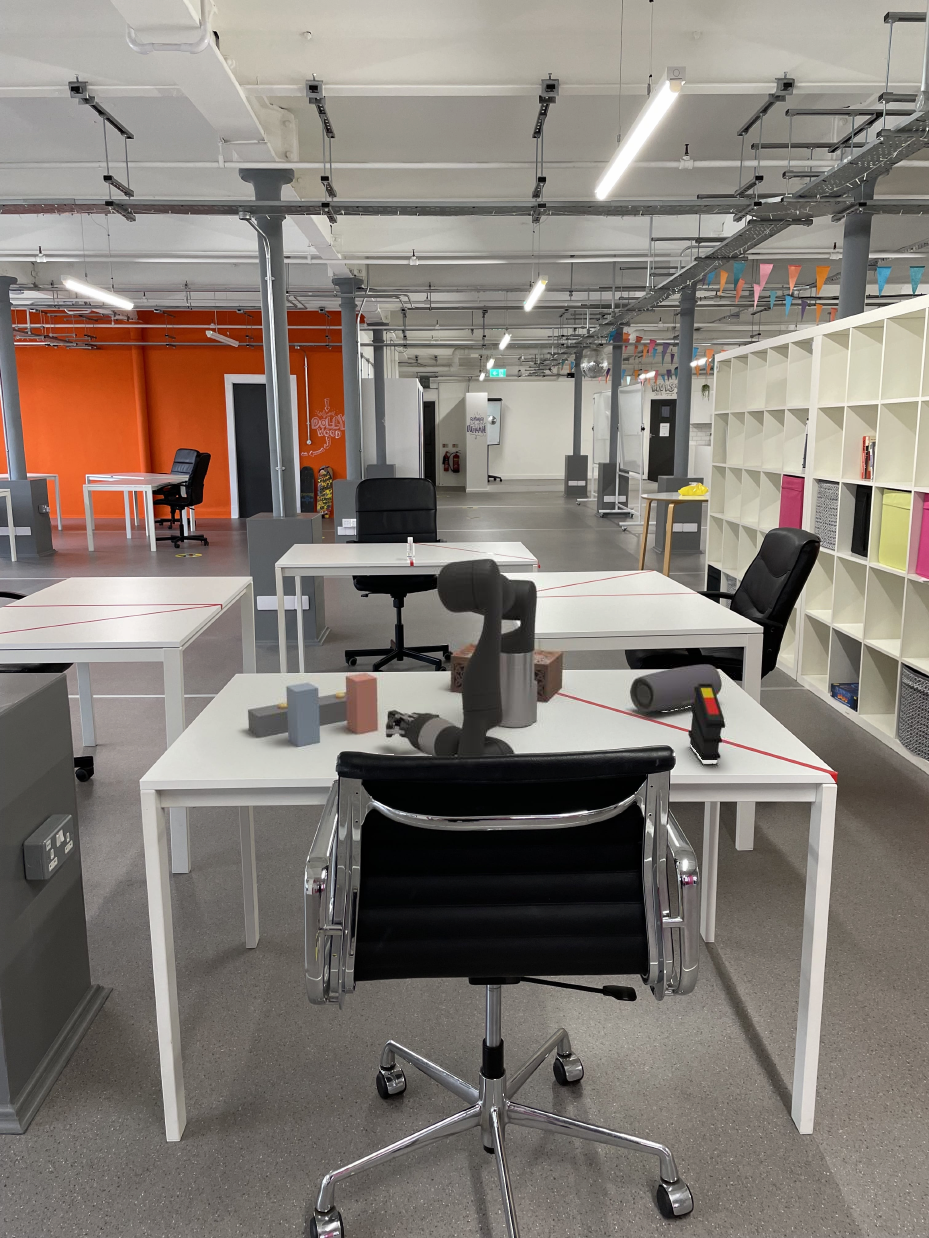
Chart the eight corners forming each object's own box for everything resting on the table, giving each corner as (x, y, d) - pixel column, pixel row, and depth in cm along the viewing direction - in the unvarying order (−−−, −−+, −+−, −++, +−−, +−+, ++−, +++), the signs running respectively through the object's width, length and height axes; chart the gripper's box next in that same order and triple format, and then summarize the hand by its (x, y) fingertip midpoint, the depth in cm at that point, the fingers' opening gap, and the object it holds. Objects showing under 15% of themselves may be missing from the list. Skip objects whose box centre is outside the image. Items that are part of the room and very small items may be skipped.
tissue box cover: (450, 693, 230) (450, 655, 228) (470, 679, 243) (470, 643, 241) (547, 703, 221) (547, 664, 219) (562, 688, 234) (562, 651, 232)
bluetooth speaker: (693, 696, 227) (695, 658, 225) (722, 705, 219) (724, 666, 217) (627, 711, 215) (628, 671, 213) (654, 721, 207) (656, 679, 205)
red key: (366, 724, 201) (365, 672, 198) (377, 730, 197) (376, 677, 194) (347, 728, 198) (345, 676, 195) (357, 734, 194) (356, 681, 191)
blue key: (309, 735, 193) (308, 682, 190) (320, 742, 189) (318, 687, 186) (288, 740, 190) (286, 686, 188) (298, 746, 186) (296, 691, 184)
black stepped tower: (702, 734, 193) (713, 682, 183) (715, 780, 182) (728, 727, 173) (684, 734, 193) (695, 682, 183) (697, 780, 182) (709, 727, 173)
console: (360, 713, 213) (359, 685, 211) (401, 734, 197) (400, 705, 196) (248, 734, 197) (246, 705, 196) (283, 760, 182) (281, 728, 180)
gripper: (464, 712, 174) (417, 692, 188) (406, 724, 167) (362, 702, 181) (464, 749, 176) (418, 726, 190) (407, 762, 168) (363, 738, 182)
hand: (391, 715), depth 185 cm, fingers closed
